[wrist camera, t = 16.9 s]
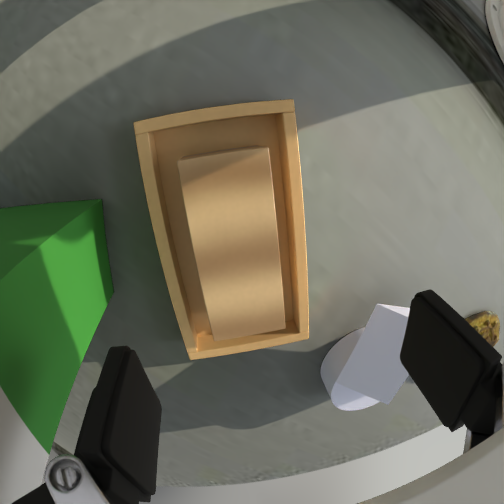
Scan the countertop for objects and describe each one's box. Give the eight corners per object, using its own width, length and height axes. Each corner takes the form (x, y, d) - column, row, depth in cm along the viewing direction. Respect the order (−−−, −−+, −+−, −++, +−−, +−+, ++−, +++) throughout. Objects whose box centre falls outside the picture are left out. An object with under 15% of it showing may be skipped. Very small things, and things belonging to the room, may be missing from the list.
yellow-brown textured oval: (502, 305, 33) (447, 310, 30) (523, 317, 28) (473, 327, 25) (481, 357, 35) (422, 374, 32) (499, 371, 31) (442, 394, 28)
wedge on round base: (358, 284, 25) (307, 389, 29) (397, 327, 19) (327, 438, 23) (425, 295, 27) (373, 387, 31) (464, 330, 21) (397, 427, 25)
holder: (142, 123, 18) (133, 122, 15) (283, 103, 19) (293, 99, 16) (190, 340, 25) (189, 360, 22) (300, 321, 26) (309, 339, 23)
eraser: (182, 156, 19) (176, 160, 15) (257, 145, 19) (268, 147, 16) (212, 313, 23) (214, 341, 20) (274, 301, 24) (285, 328, 20)
